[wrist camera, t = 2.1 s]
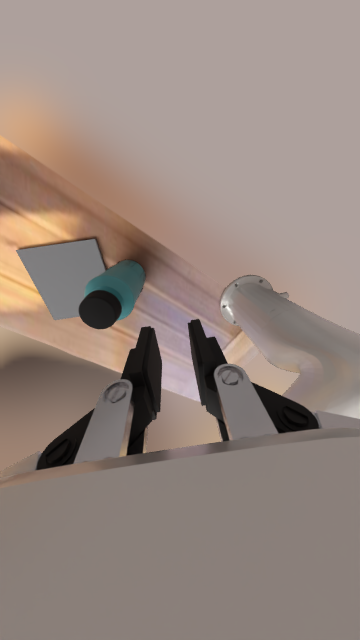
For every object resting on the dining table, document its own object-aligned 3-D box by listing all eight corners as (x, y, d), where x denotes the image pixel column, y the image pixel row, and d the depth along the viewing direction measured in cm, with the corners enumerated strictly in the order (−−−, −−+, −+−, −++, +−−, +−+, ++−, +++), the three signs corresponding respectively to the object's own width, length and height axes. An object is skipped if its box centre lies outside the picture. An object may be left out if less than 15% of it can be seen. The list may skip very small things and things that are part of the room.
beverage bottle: (124, 251, 33) (73, 269, 15) (153, 270, 35) (139, 305, 17) (110, 278, 35) (52, 322, 17) (138, 294, 37) (112, 349, 19)
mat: (96, 238, 31) (94, 238, 31) (119, 309, 38) (118, 310, 38) (18, 250, 31) (15, 250, 31) (55, 318, 38) (54, 320, 38)
